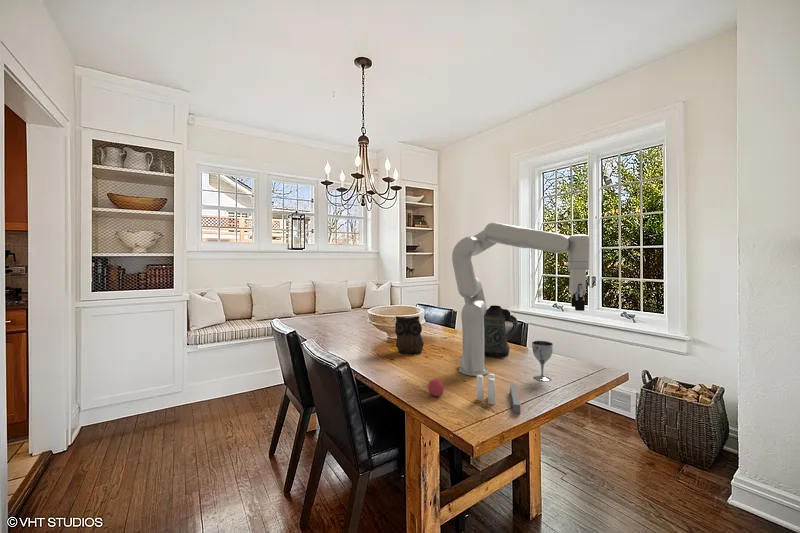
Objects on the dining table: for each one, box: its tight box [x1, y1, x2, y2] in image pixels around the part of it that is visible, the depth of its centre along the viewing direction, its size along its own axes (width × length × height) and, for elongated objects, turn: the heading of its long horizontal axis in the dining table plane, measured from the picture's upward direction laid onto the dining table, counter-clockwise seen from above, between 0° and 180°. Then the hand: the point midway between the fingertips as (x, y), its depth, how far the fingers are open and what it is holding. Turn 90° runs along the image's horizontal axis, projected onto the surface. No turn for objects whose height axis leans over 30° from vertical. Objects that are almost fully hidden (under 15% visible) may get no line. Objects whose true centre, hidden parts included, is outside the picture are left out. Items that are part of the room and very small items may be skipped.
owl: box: [394, 315, 425, 356], centre depth 188 cm, size 13×13×20 cm
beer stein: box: [484, 304, 519, 358], centre depth 185 cm, size 16×19×25 cm
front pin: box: [476, 375, 484, 402], centre depth 127 cm, size 2×2×8 cm
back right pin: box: [487, 378, 496, 406], centre depth 124 cm, size 2×2×8 cm
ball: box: [427, 378, 445, 397], centre depth 131 cm, size 6×6×6 cm
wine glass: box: [531, 340, 554, 382], centre depth 147 cm, size 8×8×15 cm
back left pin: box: [487, 373, 496, 380], centre depth 128 cm, size 2×2×8 cm
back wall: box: [509, 384, 521, 415], centre depth 124 cm, size 18×2×3 cm, turn 166°
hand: (577, 308), depth 141 cm, fingers open, 9 cm apart
